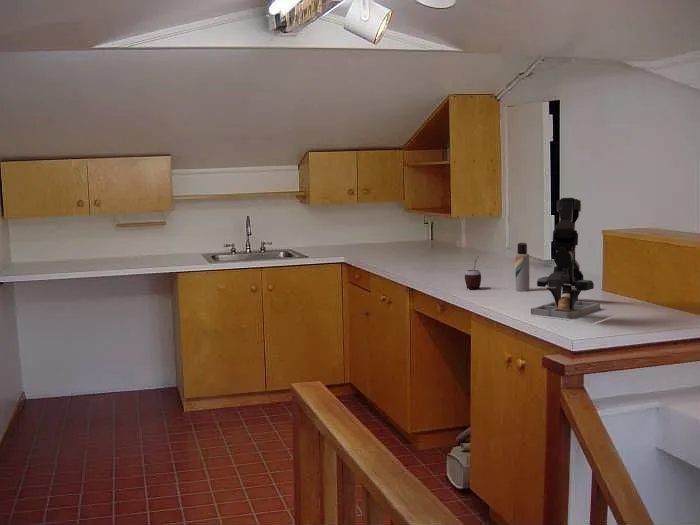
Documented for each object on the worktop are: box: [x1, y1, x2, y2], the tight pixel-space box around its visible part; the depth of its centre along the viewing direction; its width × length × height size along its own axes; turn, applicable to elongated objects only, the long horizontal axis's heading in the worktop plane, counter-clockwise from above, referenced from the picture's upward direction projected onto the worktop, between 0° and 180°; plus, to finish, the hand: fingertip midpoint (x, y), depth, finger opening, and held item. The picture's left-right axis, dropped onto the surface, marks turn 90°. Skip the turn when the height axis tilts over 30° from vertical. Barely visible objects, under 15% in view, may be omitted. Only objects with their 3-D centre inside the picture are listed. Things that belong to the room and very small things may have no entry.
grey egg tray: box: [530, 300, 601, 321], centre depth 284 cm, size 22×15×3 cm
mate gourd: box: [464, 255, 482, 291], centre depth 343 cm, size 8×8×15 cm
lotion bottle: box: [514, 242, 530, 292], centre depth 335 cm, size 6×6×20 cm
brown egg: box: [558, 296, 572, 312], centre depth 276 cm, size 4×4×5 cm
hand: (564, 308), depth 277 cm, fingers closed on brown egg, 4 cm apart
